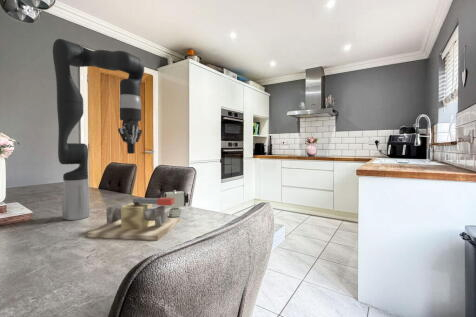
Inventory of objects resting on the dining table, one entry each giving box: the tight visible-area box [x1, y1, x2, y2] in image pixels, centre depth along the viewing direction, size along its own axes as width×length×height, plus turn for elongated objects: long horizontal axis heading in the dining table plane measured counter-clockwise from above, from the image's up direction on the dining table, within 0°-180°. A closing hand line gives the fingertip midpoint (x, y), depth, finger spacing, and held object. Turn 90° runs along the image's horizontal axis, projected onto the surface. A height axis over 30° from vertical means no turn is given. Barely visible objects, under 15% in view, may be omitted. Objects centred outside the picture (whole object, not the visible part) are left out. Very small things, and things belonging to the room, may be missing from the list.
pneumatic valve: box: [160, 189, 190, 218], centre depth 107 cm, size 6×12×12 cm, turn 111°
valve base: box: [87, 202, 181, 241], centre depth 91 cm, size 26×20×10 cm
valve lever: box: [132, 196, 174, 206], centre depth 89 cm, size 16×3×2 cm, turn 84°
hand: (131, 153), depth 91 cm, fingers closed
